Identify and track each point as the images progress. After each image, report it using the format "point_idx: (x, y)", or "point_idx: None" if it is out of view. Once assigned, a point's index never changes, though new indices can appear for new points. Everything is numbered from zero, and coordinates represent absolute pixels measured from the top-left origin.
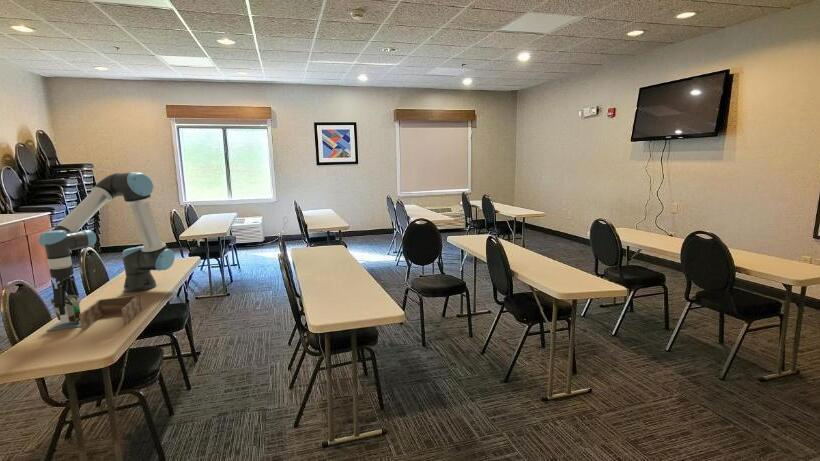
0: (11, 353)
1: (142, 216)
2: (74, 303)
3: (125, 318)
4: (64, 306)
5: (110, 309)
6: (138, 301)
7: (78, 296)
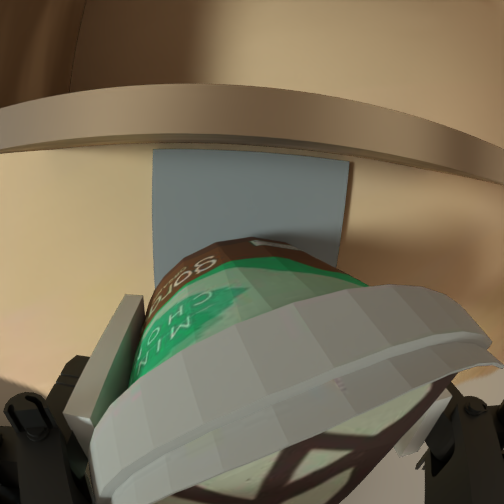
0: (494, 366)
1: None
2: (479, 330)
3: None
4: (471, 400)
5: (54, 55)
6: None
7: (10, 416)
